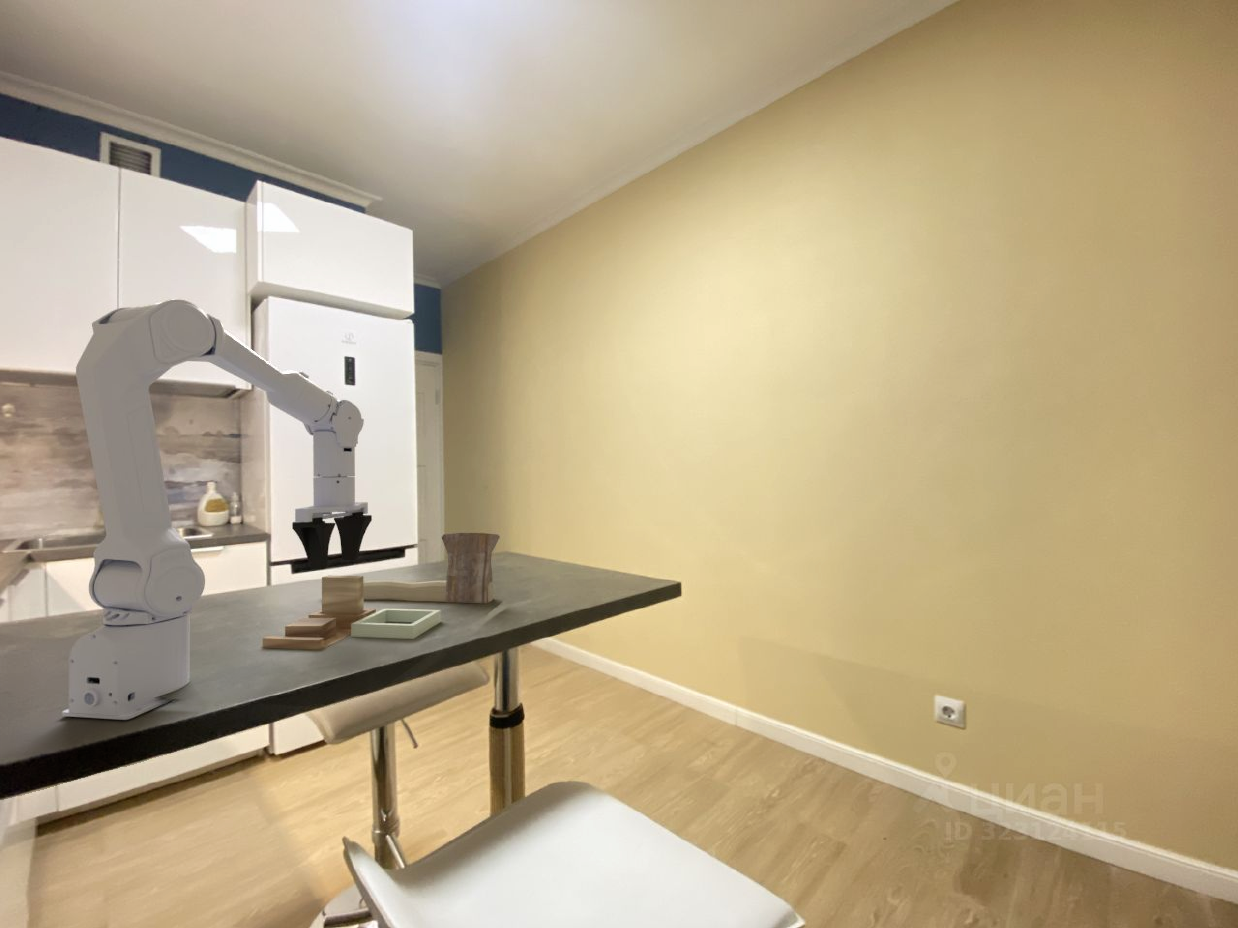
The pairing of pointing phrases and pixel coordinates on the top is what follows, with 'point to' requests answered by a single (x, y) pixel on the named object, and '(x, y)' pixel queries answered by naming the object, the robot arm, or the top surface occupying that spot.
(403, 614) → the tray
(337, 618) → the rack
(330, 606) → the upright wooden block
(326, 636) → the offcut low
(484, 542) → the hand axe
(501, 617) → the top surface
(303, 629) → the offcut top
